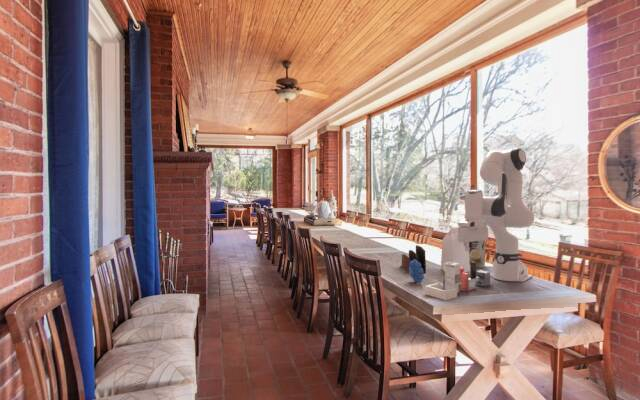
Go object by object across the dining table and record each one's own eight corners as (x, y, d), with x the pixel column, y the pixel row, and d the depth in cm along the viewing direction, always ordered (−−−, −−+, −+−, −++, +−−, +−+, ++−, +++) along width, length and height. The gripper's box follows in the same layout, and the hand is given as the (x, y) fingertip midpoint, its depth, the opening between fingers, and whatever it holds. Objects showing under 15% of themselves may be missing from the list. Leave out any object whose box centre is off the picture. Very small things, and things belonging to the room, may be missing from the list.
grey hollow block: (480, 283, 213) (480, 270, 212) (490, 285, 208) (490, 272, 208) (475, 284, 210) (475, 271, 210) (484, 287, 206) (485, 273, 205)
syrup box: (447, 290, 199) (447, 261, 198) (459, 292, 195) (459, 262, 195) (442, 293, 195) (443, 263, 194) (454, 295, 191) (455, 264, 190)
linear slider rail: (483, 281, 215) (483, 257, 215) (495, 283, 210) (496, 259, 209) (454, 288, 202) (454, 263, 201) (466, 291, 196) (466, 265, 195)
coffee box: (467, 266, 255) (468, 240, 254) (470, 264, 260) (470, 239, 260) (483, 267, 250) (483, 241, 249) (485, 265, 255) (485, 240, 255)
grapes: (403, 280, 220) (403, 258, 219) (413, 279, 222) (413, 257, 221) (415, 285, 209) (415, 262, 208) (426, 284, 211) (426, 261, 211)
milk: (457, 267, 251) (457, 225, 249) (469, 271, 240) (470, 227, 239) (440, 269, 247) (440, 226, 246) (452, 273, 236) (452, 228, 235)
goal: (436, 291, 198) (436, 283, 198) (457, 297, 188) (457, 288, 188) (425, 294, 194) (425, 285, 193) (445, 300, 184) (445, 291, 183)
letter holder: (417, 266, 257) (417, 243, 256) (426, 273, 237) (426, 249, 237) (401, 266, 257) (401, 244, 256) (409, 273, 237) (409, 249, 236)
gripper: (480, 221, 211) (480, 247, 212) (455, 222, 200) (455, 251, 200) (491, 222, 206) (491, 249, 207) (466, 223, 195) (466, 252, 195)
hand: (473, 250), depth 203 cm, fingers open, 8 cm apart
